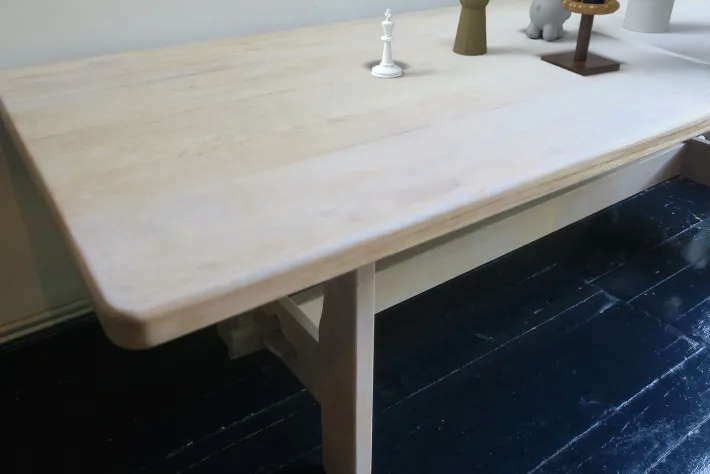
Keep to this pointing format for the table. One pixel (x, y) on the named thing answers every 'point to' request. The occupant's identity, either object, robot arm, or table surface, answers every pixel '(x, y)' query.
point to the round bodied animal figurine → (547, 19)
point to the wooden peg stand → (582, 54)
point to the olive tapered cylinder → (471, 28)
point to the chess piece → (387, 52)
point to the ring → (590, 7)
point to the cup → (648, 16)
